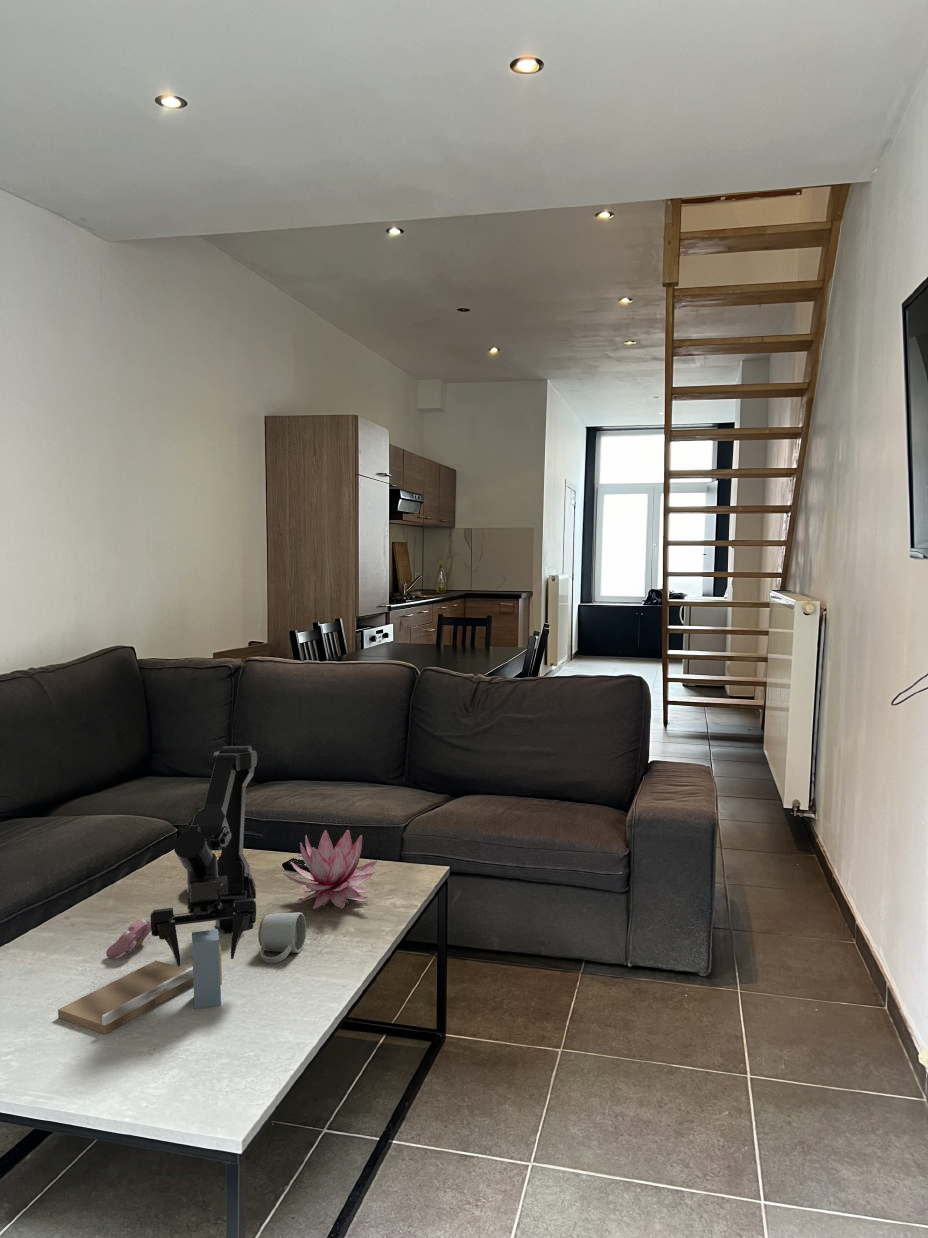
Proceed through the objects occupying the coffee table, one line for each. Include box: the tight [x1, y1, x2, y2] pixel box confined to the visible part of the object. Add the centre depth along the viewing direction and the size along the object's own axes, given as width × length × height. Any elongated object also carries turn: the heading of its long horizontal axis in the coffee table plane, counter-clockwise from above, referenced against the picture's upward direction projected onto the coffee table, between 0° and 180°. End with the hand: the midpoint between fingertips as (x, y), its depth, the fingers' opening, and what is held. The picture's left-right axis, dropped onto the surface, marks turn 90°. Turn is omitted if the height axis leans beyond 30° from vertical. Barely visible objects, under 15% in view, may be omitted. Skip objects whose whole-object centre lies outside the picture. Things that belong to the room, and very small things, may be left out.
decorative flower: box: [284, 829, 379, 910], centre depth 210 cm, size 21×21×15 cm
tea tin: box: [191, 928, 223, 1010], centre depth 162 cm, size 5×5×12 cm
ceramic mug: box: [257, 912, 307, 964], centre depth 182 cm, size 11×8×8 cm
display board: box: [57, 959, 194, 1035], centre depth 163 cm, size 22×12×3 cm, turn 151°
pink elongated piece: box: [105, 918, 151, 959], centre depth 184 cm, size 10×5×7 cm, turn 169°
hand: (205, 962), depth 161 cm, fingers open, 9 cm apart
